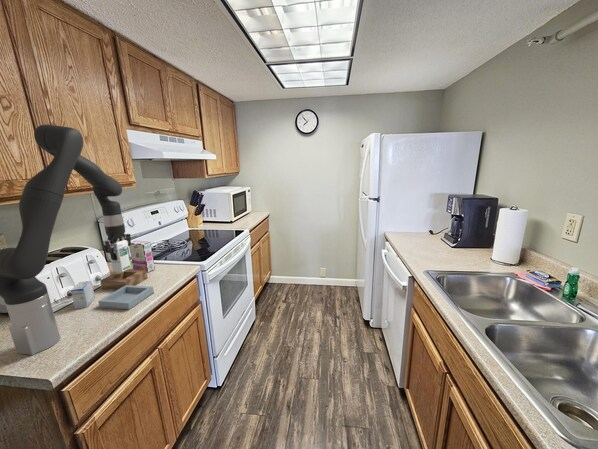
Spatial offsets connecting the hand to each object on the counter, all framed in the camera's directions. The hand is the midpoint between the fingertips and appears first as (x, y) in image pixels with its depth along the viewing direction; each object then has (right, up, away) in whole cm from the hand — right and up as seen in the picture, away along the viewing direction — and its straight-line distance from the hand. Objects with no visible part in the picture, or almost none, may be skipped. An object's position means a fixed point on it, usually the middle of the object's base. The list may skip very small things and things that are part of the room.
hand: (120, 257), depth 122 cm
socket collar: (0, -13, +3) cm, 14 cm away
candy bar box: (0, -10, +19) cm, 22 cm away
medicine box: (-5, -18, -15) cm, 24 cm away
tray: (+12, -17, -12) cm, 24 cm away
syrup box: (0, -6, +1) cm, 6 cm away
